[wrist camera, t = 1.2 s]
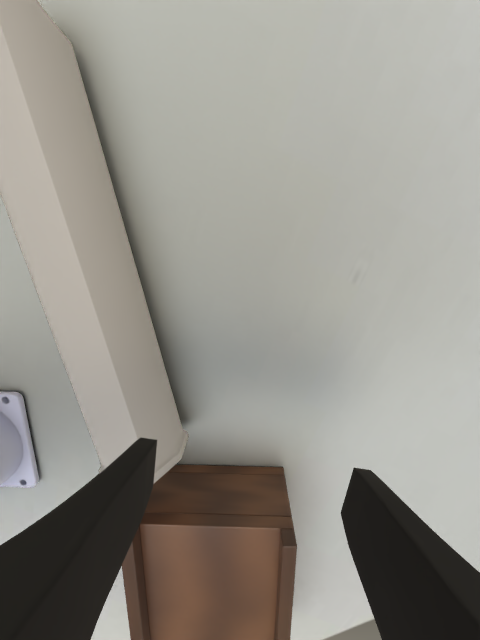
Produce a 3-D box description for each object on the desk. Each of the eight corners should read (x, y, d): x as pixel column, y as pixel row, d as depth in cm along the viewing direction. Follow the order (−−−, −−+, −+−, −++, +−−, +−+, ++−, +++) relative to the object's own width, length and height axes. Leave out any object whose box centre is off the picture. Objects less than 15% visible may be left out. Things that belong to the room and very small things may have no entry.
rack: (164, 612, 24) (140, 719, 19) (153, 463, 21) (118, 540, 15) (275, 616, 24) (283, 726, 19) (283, 466, 21) (297, 546, 15)
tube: (-119, -24, 11) (84, 485, 16) (-52, -121, 9) (154, 497, 14) (22, 56, 16) (142, 428, 21) (86, 5, 14) (201, 431, 19)
